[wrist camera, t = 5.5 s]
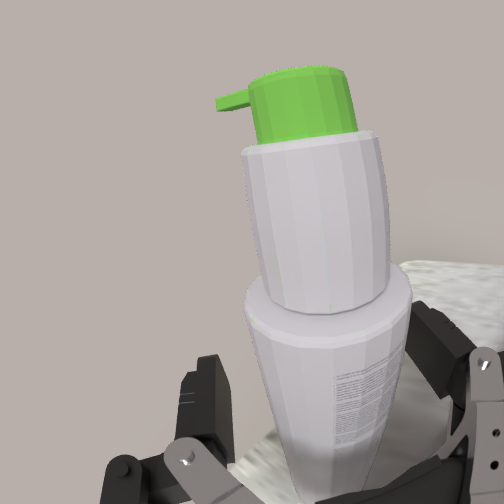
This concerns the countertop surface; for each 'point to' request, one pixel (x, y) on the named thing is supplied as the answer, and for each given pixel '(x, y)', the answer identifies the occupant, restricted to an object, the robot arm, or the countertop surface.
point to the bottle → (321, 277)
